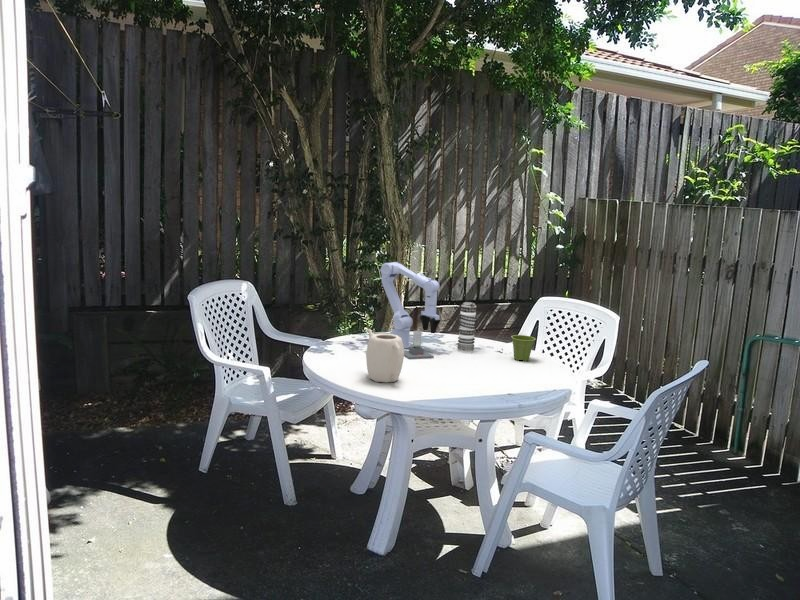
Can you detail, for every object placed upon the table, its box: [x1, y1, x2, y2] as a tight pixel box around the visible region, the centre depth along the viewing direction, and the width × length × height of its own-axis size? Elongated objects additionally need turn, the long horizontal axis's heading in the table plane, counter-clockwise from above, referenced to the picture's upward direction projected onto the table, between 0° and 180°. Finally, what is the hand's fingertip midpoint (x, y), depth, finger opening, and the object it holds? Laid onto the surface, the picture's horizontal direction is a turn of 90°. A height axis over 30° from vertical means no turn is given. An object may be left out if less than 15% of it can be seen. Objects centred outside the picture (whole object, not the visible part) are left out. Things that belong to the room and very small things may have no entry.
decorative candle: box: [456, 301, 478, 354], centre depth 357 cm, size 9×9×25 cm
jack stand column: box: [412, 330, 423, 347], centre depth 342 cm, size 3×3×7 cm
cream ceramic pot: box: [365, 329, 405, 384], centre depth 296 cm, size 16×27×19 cm, turn 33°
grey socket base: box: [404, 345, 435, 360], centre depth 343 cm, size 13×13×5 cm
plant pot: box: [511, 334, 536, 362], centre depth 346 cm, size 12×12×11 cm
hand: (429, 331), depth 351 cm, fingers open, 7 cm apart
